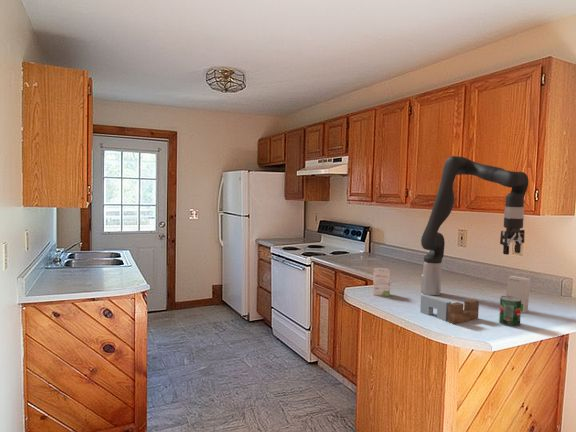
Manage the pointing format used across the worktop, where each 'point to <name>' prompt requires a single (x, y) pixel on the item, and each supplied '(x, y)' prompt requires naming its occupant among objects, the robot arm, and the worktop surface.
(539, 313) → the worktop surface
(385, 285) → the ink box
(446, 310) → the grey tall rectangular block
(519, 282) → the skincare box
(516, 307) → the canned tomato
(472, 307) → the wooden u-shaped brace
